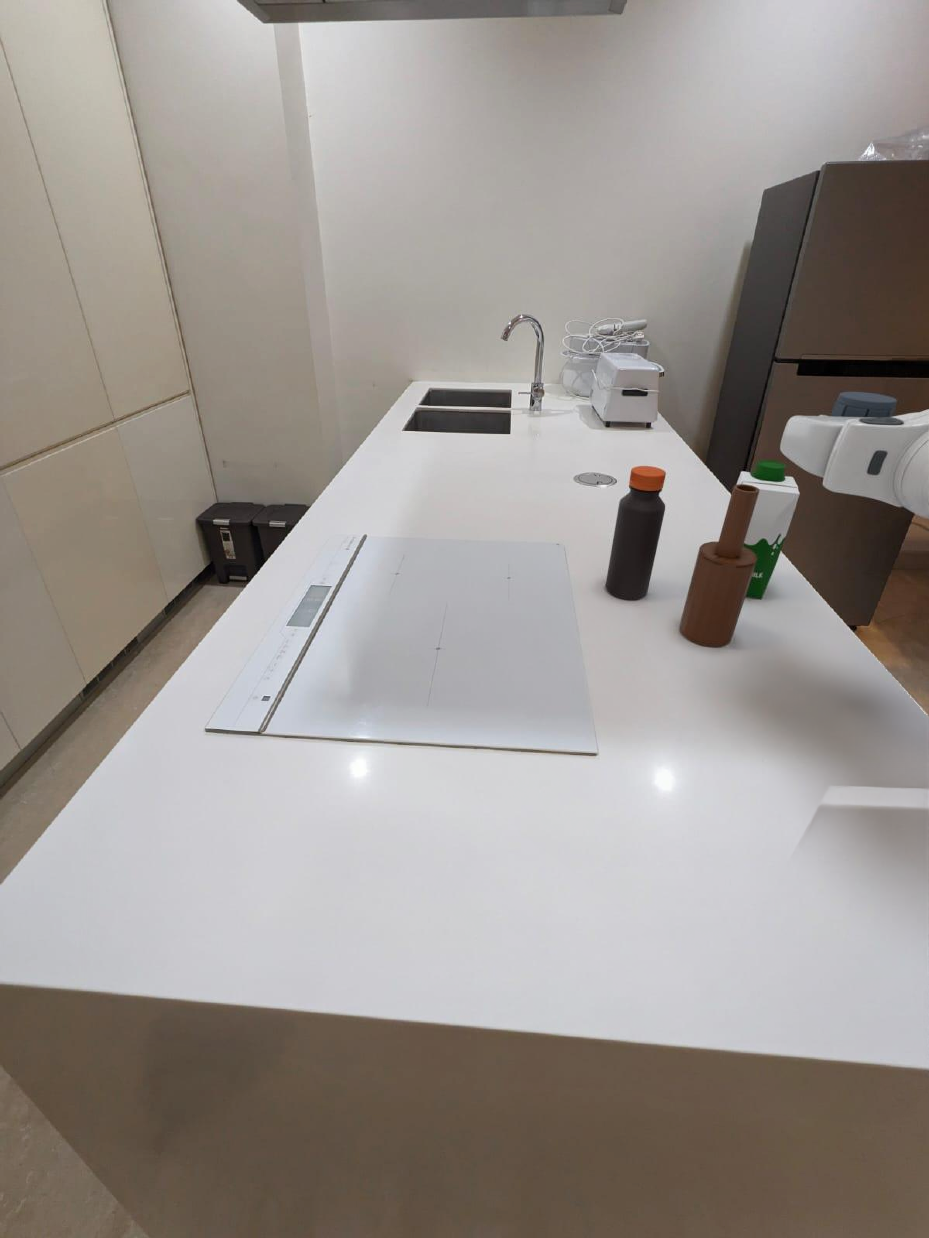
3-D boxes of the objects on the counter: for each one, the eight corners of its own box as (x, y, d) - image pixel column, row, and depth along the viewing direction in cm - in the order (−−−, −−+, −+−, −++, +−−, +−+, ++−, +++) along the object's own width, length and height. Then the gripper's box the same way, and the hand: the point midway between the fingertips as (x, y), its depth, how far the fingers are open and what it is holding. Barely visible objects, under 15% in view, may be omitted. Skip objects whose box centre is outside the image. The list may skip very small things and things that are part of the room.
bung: (851, 463, 69) (878, 392, 64) (877, 478, 64) (908, 403, 60) (805, 462, 69) (830, 391, 64) (828, 476, 64) (856, 401, 60)
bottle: (703, 615, 89) (743, 475, 77) (742, 639, 83) (790, 493, 72) (668, 626, 86) (704, 483, 74) (706, 652, 81) (750, 502, 69)
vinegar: (633, 605, 91) (658, 482, 80) (596, 590, 95) (615, 470, 84) (654, 590, 95) (681, 471, 84) (618, 576, 99) (639, 460, 88)
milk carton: (763, 578, 99) (801, 463, 89) (768, 603, 92) (810, 481, 81) (709, 569, 102) (740, 456, 91) (710, 593, 95) (743, 474, 84)
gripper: (1069, 428, 51) (960, 396, 63) (835, 422, 51) (770, 391, 63) (1030, 497, 54) (933, 453, 66) (811, 491, 55) (753, 449, 66)
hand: (852, 423), depth 65 cm, fingers closed on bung, 5 cm apart
